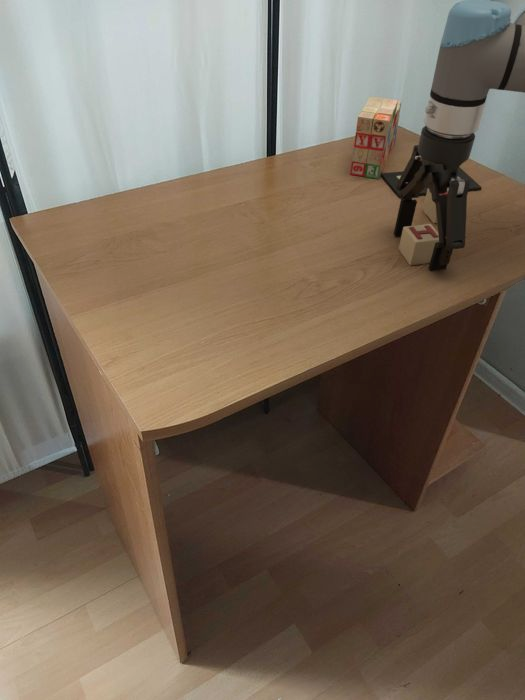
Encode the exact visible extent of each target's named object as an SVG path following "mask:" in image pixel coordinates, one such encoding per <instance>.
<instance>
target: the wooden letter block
mask: <svg viewBox="0 0 525 700" xmlns="http://www.w3.org/2000/svg"><path fill="white" fill-rule="evenodd" d="M439 195H448V191H447V192H446V193H444V194H439ZM422 211H423V213H424V214H425V215H426V216H427V218H429V219H430V221H431V222H432V223H433V224H437V214H436V204H435V202H433V201H432V195H431V193H430V191H429V189H428V190H427V194H426V195H425V198H424V202H423V206H422Z"/></svg>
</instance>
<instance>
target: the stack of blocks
mask: <svg viewBox="0 0 525 700" xmlns="http://www.w3.org/2000/svg"><path fill="white" fill-rule="evenodd" d="M402 102H403V101H402V100H398V99H396V98H395V99H394V98H385V97H377V96H369V97H368V99H367V101H366V104H365V105H364V106H363V108H362V110H361V111H360V113H359V114H358V115H357V121H356V128H355V131H356V132H355V135H354V144H353V153H352V160H351V166H350V172H349V174H350V175H351V176H358V177H362V178H364V177H365V178H370V179H375V180H379V179H380V177H381V173H383V171H384V168H385V166H386V163H387V162H388V161H387V160H388V158H389V156H390V152H391V151H392V149H393V147H394V144H395V142H396V137H397V131H398V127H399V122H400V112H401V106H402Z"/></svg>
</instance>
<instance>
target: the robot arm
mask: <svg viewBox="0 0 525 700" xmlns="http://www.w3.org/2000/svg"><path fill="white" fill-rule="evenodd" d="M511 16H512V9H511V7H510V6H509V5H508V4H506V3H503V2H501V1H494V0H460V1H458V2H456V3H455V4H454V5H452V7H451V8H450V9H449V11H448V15H447V19H446V22H445V26H444V28H443V33H442V37H441V40H440V45H439V50H438V55H437V59H436V62H435V63H436V64H435V69H434V73H433V78H432V83H431V88H430V91H429V98H428V103H427V106H426V107H425V110H424V112H425V115H424V120H423V124H424V126H423V127H422V128H421V132H420V137H419V141H418V144H415V145H414V146H413V148H412V152H411V156H410V159H409V160H408V162H407V164H406V166H405V168H404V170H402V171H403V173H402V175H401V177H400V179H399V181H398V183H397V185H396V190H397V191H400V195H399V196H400V198H399V199H400V202H399V205H398V206H399V207H398V211H397V217H396V220H395V226H394V231H393V235H394V237H399V236H400V237H401V236H402V231H403V227H406V226H413V220H414V216H415V213H416V209H417V204H418V200H417V198H419V196H418V194H419V193H420V192H421V191H422V190H423V189H424V188H425V187H426V188H428V189H429V191H430V193H431V195H432V201H433V202H435V204H436V214H437V223H436V224H437V232H438V235H439V242H436V243H435V246H434V250H433V253H432V257H431V261H430V263H428V264H429V265H428V270H429V272H435V271H443V270H447V267H448V265H449V263H450V262H451V259H452V255H453V252H454V250H458V249H459V250H460V249H464V248H465V246H466V234H467V233H466V231H467V229H466V228H467V203H468V193H469V191H468V190H469V186H470V181H469V180H468V179H464V180H461V179H460V178H458V170H459V167H461V166H462V164H464V163H465V162H467V161H468V160H469V158H470V156H471V153H472V149H473V146H474V143H475V139H476V134H475V133H476V132H477V131H478V130H479V126H480V123H481V119H482V116H483V112H484V109H485V105H486V101H487V98H488V94H489V92H490V90H497V91H498V90H499V91H508V92H516V93H524V94H525V7H524V8H523V9H522V10H521V11H519V13H517V16H516V17H515V19H514V21H513V22H511V19H512V18H511ZM447 191H448V195H439V194H444V193H446V192H447Z"/></svg>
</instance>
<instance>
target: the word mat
mask: <svg viewBox="0 0 525 700" xmlns="http://www.w3.org/2000/svg"><path fill="white" fill-rule="evenodd" d="M403 171H404V170H402V171H392V172H391V171H390V172H382V173H381V174H380V177H381V178H382V180H383V181H384V182H385V183H386V184H387V186H389V188H390V189H391V190H392V191H393V192H394V194H395V195H396V196H397V197H398V199H400V196H399V195H400V191H397V190H396V185H397V183H398V181H399V179H400V177H401V175H402V173H403ZM458 178H460V179H461V180H464V179H468V180H469V181H470V186H469V190H468V192H474V191H481V190H482V188H483V187H482V186H481V185H480V184H479V183H478V182H476V180H475V179H473V178H472V177H471V176H470V175H469V174H468V173H467V172H465V170H463V169H462V168H461V166H459V170H458ZM427 190H428V188H426V187H425V188H424V189H423V190H422V191H421V192H420V193H419V194H418V196H417V197H422V196H423V197H424V196H426V194H427Z"/></svg>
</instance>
